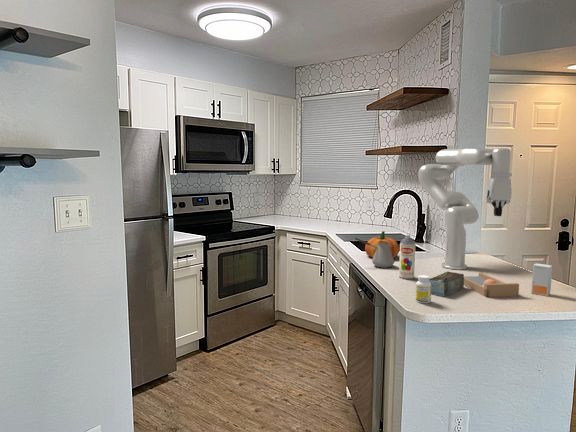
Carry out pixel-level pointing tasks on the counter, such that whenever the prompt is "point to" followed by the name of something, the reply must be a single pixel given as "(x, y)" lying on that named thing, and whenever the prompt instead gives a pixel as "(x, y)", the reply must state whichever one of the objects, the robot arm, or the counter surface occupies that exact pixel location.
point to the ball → (489, 282)
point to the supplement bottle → (423, 289)
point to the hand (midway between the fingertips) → (497, 215)
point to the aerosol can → (407, 258)
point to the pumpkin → (371, 250)
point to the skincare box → (541, 279)
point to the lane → (491, 286)
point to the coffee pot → (381, 254)
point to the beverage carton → (446, 283)
